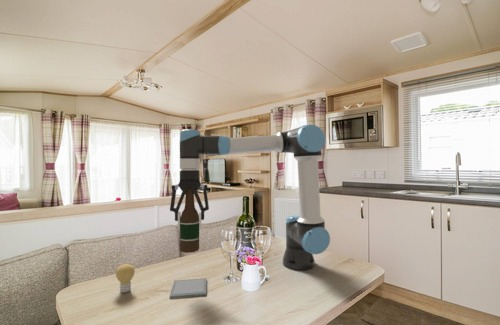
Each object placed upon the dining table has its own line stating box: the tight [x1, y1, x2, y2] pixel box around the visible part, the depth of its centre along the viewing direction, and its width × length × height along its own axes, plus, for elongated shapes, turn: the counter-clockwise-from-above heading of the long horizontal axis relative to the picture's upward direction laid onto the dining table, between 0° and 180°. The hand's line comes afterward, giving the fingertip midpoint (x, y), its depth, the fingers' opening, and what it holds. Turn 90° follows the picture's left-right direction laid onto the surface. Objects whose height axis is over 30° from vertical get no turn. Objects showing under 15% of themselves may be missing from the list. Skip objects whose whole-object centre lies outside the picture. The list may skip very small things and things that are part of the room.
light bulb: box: [115, 263, 136, 294], centre depth 100 cm, size 6×6×10 cm
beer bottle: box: [179, 188, 200, 254], centre depth 102 cm, size 8×8×24 cm
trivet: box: [169, 277, 208, 299], centre depth 102 cm, size 13×13×1 cm
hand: (189, 228), depth 102 cm, fingers closed on beer bottle, 7 cm apart
